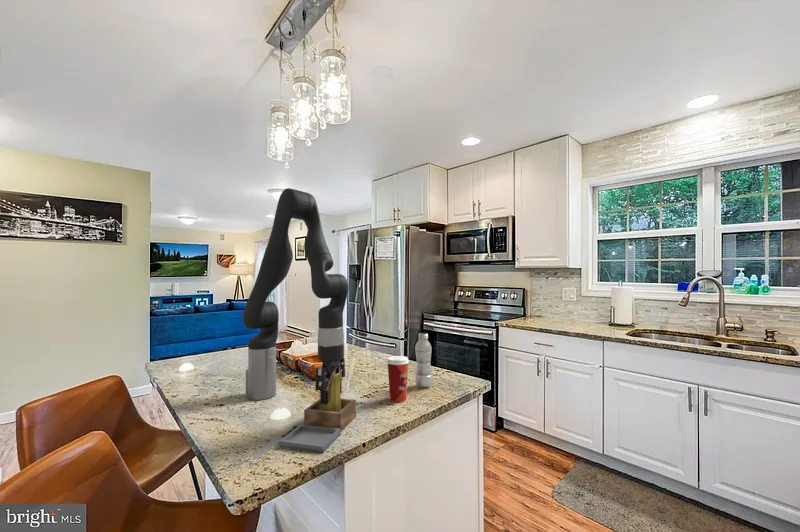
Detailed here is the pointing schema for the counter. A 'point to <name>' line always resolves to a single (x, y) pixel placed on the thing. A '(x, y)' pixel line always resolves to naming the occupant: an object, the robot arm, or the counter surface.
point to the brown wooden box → (331, 415)
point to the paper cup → (398, 377)
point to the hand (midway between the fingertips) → (331, 398)
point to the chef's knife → (271, 444)
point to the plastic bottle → (423, 361)
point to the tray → (310, 438)
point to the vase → (333, 395)
